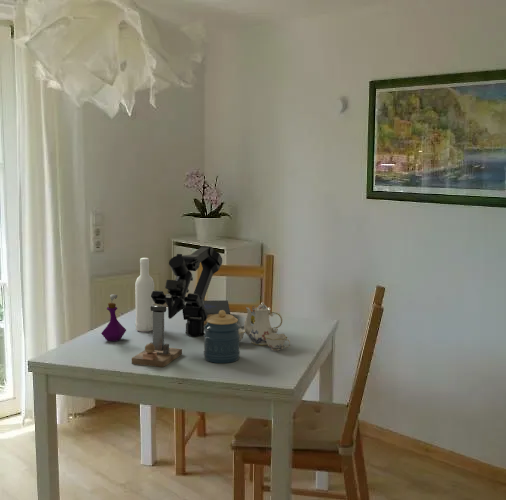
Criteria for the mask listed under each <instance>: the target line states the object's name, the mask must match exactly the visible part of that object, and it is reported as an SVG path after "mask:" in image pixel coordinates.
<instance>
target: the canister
mask: <svg viewBox="0 0 506 500" xmlns="http://www.w3.org/2000/svg"><path fill="white" fill-rule="evenodd" d="M206 321H207V324H205V325H204V333H205V334H204V335H203V337H204V338H203V340H204V341H203V343H204V344H203V345H204V346H203V357H204V360H205V361H207V362H209V363H216V364H228V363H233V362H237V361H238V360H239V359H240V356H241V355H240V353H241V351H240V341H239V340H240V334H239V328H240V327H241V325H240V324H239V323H238V321H239V320H238V318H236V317H235V316H234V315H233V314H230V315H229V314H226V312H225V311H224V310H220V311H219V313H218V314H215V315H211V316H210V317H209V318H207V319H206Z"/></svg>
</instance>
